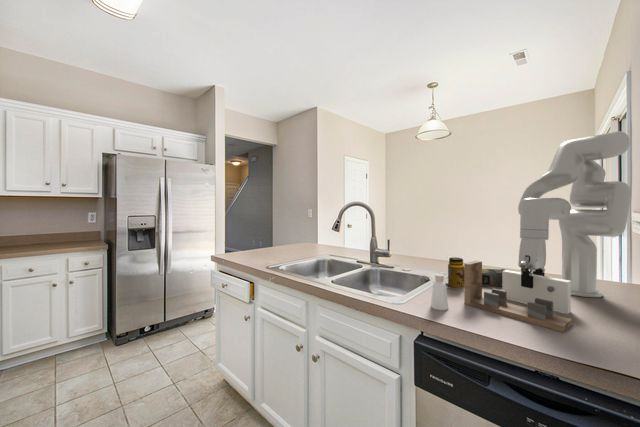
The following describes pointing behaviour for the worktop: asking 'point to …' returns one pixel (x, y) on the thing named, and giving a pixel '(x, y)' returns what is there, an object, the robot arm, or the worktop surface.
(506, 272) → the door panel
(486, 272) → the juice carton
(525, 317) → the cabinet base
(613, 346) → the worktop surface
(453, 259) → the condiment
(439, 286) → the pepper shaker
